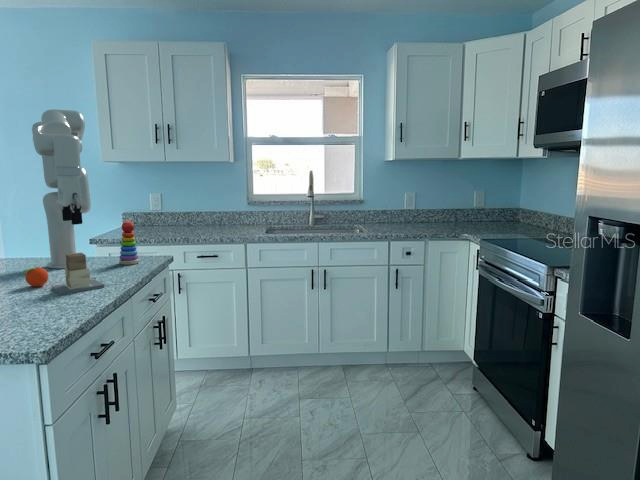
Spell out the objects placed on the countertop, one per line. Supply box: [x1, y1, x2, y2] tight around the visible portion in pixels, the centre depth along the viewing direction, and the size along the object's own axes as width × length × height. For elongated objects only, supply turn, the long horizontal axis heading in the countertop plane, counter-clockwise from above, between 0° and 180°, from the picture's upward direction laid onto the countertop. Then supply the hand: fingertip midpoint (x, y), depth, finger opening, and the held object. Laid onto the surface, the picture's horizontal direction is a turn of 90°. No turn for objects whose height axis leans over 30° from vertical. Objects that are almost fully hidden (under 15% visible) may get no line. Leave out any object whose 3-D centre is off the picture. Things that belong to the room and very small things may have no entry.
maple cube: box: [64, 267, 91, 288], centre depth 155 cm, size 6×6×6 cm
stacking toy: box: [118, 220, 140, 266], centre depth 194 cm, size 8×8×19 cm
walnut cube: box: [65, 252, 88, 271], centre depth 154 cm, size 5×5×5 cm
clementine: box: [22, 266, 49, 288], centre depth 157 cm, size 8×7×7 cm
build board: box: [51, 279, 105, 296], centre depth 155 cm, size 10×14×1 cm
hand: (72, 222), depth 152 cm, fingers open, 9 cm apart
